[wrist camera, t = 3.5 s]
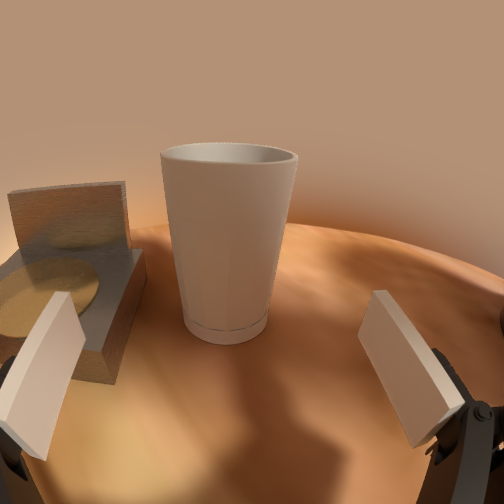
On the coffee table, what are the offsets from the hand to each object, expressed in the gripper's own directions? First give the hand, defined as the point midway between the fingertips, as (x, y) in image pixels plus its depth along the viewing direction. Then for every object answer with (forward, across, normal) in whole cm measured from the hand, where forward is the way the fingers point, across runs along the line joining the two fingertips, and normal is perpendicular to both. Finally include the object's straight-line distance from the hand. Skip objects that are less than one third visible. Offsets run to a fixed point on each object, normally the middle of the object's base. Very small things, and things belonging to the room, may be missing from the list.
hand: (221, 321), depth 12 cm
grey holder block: (+7, -14, -6) cm, 17 cm away
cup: (+8, 0, -7) cm, 10 cm away
